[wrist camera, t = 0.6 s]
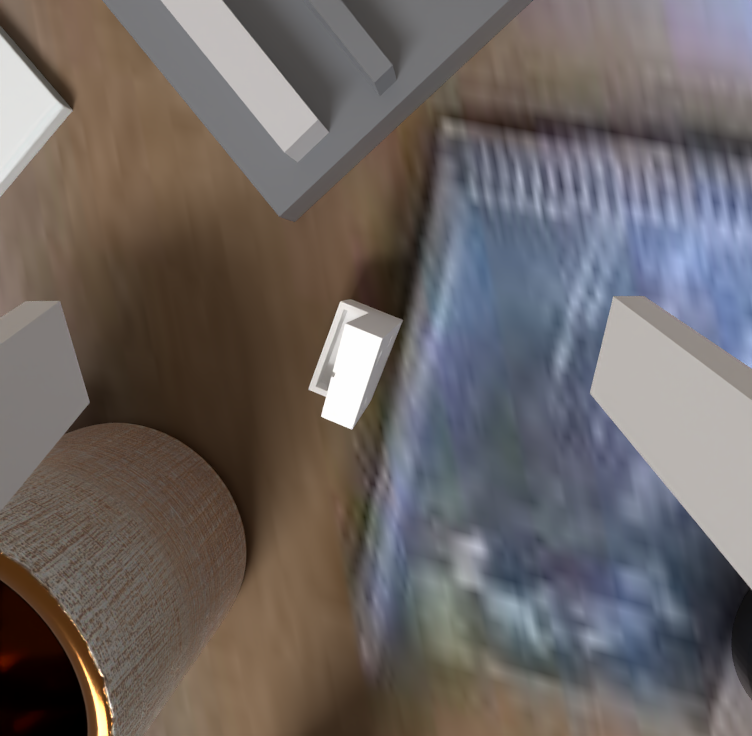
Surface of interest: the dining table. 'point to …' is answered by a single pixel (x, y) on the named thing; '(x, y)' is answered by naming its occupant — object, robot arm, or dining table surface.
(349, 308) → the white angled block
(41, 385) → the robot arm
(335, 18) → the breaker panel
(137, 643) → the planter
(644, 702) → the dining table surface
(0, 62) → the external hard drive
